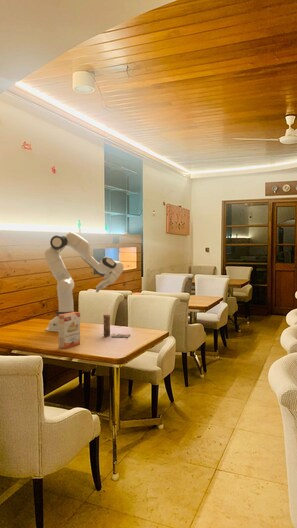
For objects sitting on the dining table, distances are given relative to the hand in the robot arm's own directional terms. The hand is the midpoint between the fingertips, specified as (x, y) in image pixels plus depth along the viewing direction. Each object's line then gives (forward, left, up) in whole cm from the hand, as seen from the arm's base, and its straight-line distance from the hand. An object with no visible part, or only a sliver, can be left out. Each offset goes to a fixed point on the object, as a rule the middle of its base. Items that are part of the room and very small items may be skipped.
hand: (99, 289), depth 284 cm
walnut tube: (+8, -9, -31) cm, 34 cm away
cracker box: (-8, -39, -32) cm, 51 cm away
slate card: (+18, -9, -31) cm, 37 cm away
